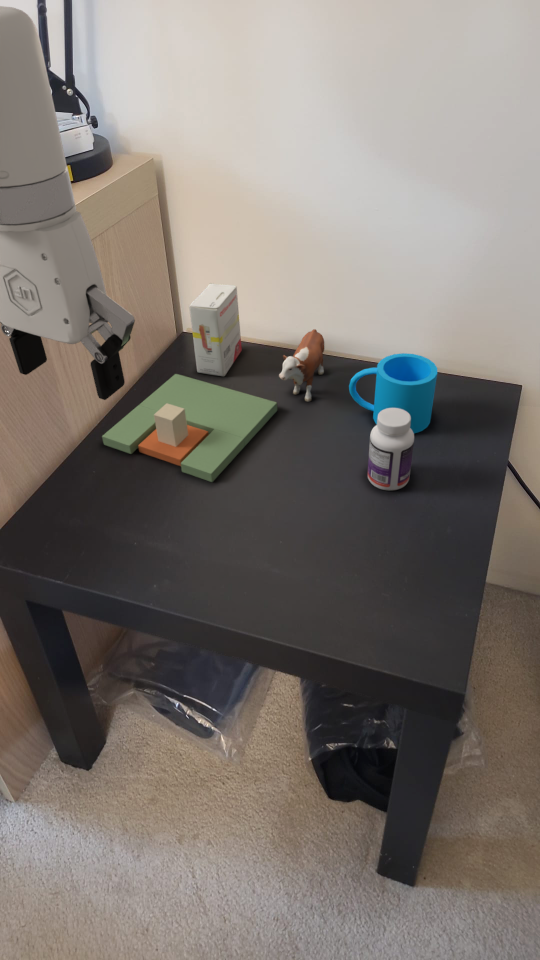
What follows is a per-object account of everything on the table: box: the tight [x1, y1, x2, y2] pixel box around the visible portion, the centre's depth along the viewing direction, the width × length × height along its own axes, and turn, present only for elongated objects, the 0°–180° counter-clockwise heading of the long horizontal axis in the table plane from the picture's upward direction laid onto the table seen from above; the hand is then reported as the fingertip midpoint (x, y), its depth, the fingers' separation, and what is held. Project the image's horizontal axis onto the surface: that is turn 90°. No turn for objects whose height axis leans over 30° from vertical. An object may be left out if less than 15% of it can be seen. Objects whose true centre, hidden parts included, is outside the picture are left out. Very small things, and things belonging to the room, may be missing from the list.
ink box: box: [188, 282, 243, 377], centre depth 108 cm, size 9×5×12 cm, turn 161°
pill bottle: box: [367, 408, 415, 491], centre depth 85 cm, size 5×5×10 cm
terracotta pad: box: [138, 403, 209, 467], centre depth 93 cm, size 7×7×6 cm
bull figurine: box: [278, 328, 326, 402], centre depth 102 cm, size 4×13×8 cm, turn 158°
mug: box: [348, 352, 438, 435], centre depth 96 cm, size 12×8×8 cm
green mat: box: [101, 373, 278, 483], centre depth 98 cm, size 18×18×2 cm
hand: (72, 379), depth 66 cm, fingers open, 9 cm apart
